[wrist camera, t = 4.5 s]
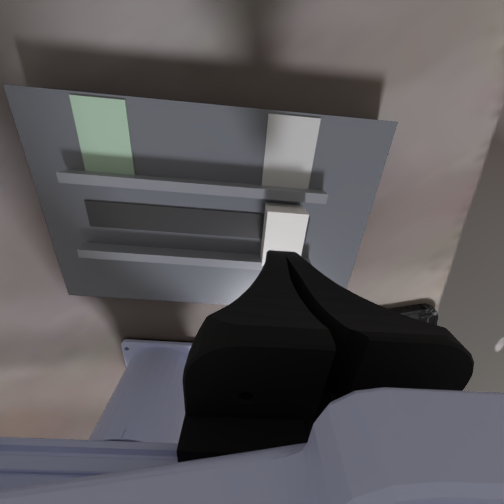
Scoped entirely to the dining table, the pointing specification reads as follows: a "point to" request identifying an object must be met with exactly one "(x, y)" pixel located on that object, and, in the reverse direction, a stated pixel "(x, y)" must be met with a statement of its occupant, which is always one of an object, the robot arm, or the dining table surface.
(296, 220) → the block
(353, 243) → the panel
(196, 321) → the dining table surface
